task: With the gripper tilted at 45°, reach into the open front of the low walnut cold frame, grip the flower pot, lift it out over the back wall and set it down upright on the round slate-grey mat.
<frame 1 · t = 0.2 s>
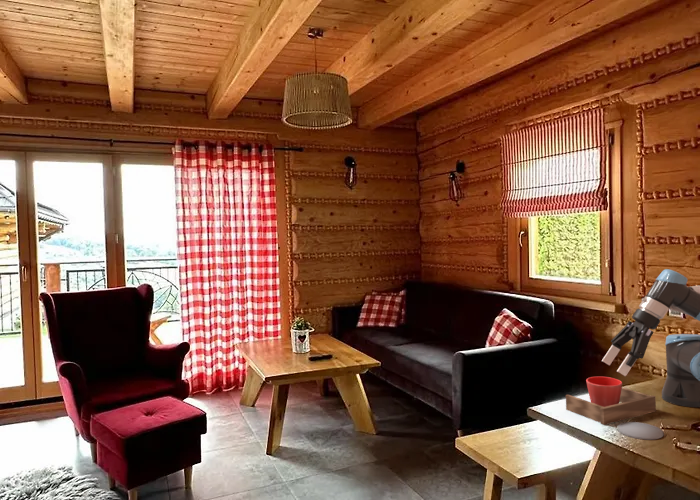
hand: (612, 368, 165), 15 cm above the table, tool tilted 35°, fingers open, 13 cm apart
flower pot: (605, 409, 170), on the table
slate mat: (639, 431, 151), on the table
cold frame: (605, 408, 170), on the table
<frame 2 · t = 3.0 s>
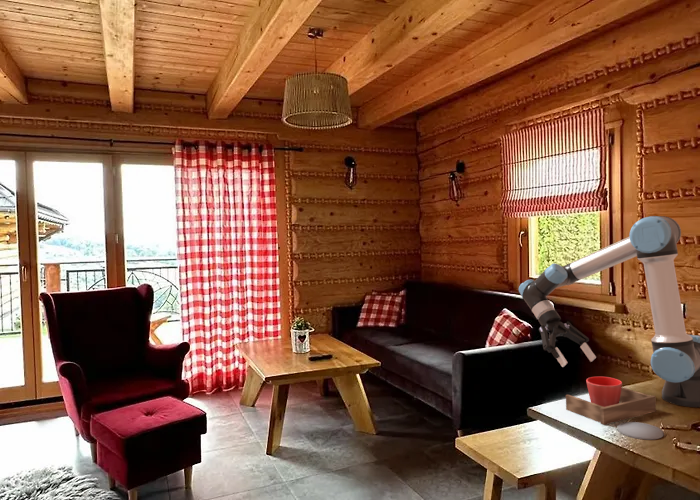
hand: (579, 362, 179), 14 cm above the table, tool tilted 45°, fingers open, 13 cm apart
nothing on the table moved.
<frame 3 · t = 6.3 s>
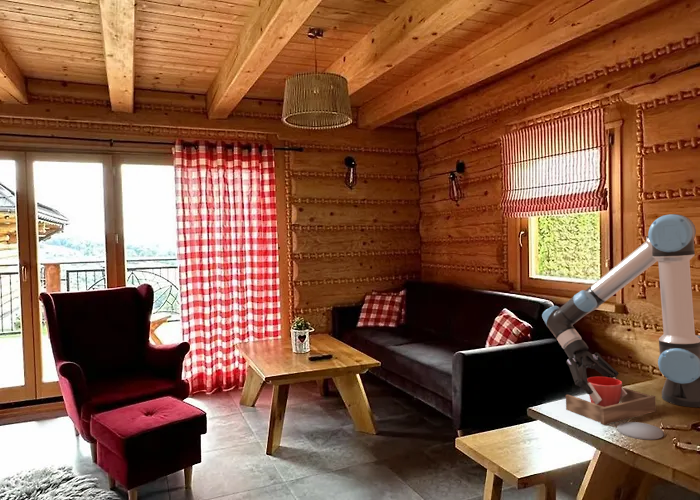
hand: (611, 399, 168), 4 cm above the table, tool tilted 45°, fingers closed on flower pot, 11 cm apart
flower pot: (605, 409, 170), on the table, touching gripper
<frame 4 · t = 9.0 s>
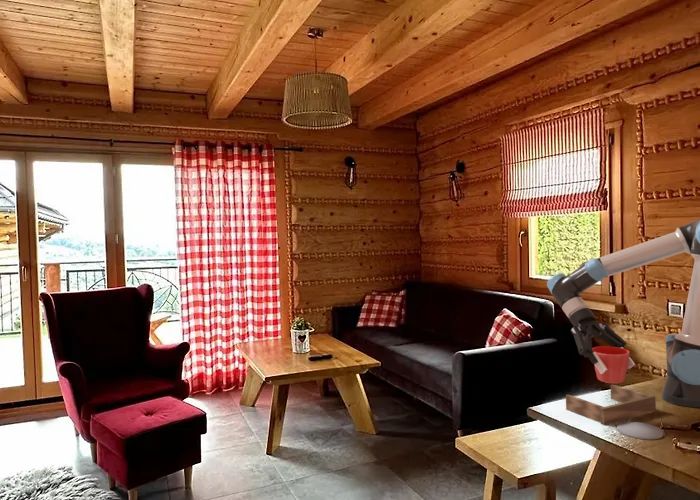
hand: (618, 369, 159), 17 cm above the table, tool tilted 45°, fingers closed on flower pot, 11 cm apart
flower pot: (610, 380, 162), point 12 cm above the table, touching gripper
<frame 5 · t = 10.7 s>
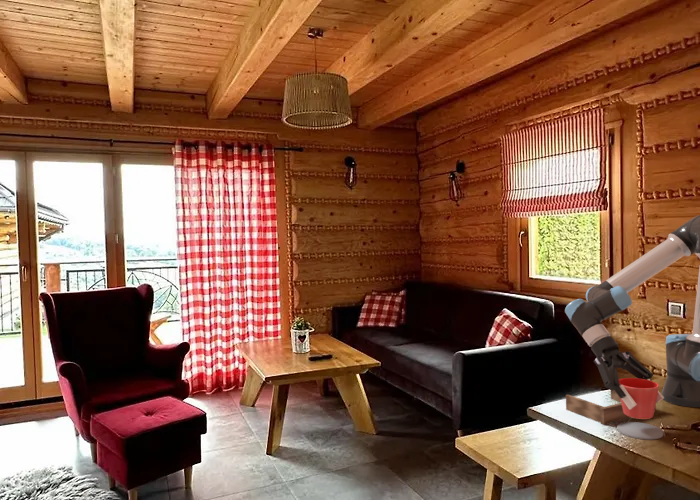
hand: (647, 403, 148), 9 cm above the table, tool tilted 45°, fingers closed on flower pot, 11 cm apart
flower pot: (638, 415, 151), point 5 cm above the table, touching gripper
when the fingers open (6 cm above the table, at t = 12.0 s): flower pot stays where it is, resting on slate mat.
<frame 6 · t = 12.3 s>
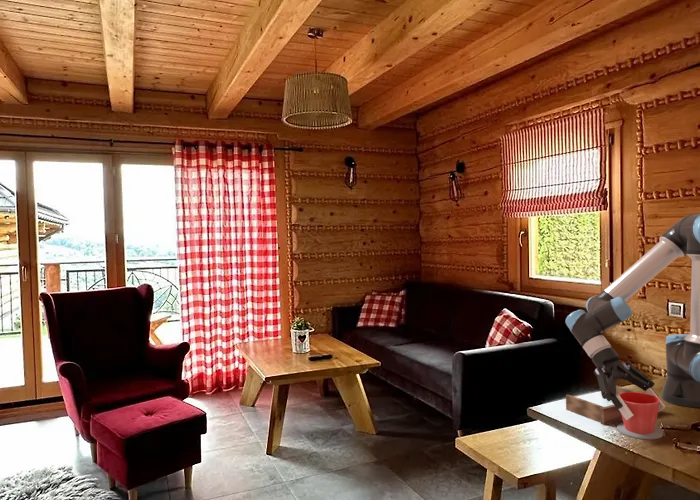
hand: (646, 413, 148), 6 cm above the table, tool tilted 45°, fingers open, 13 cm apart
flower pot: (639, 430, 151), resting on slate mat
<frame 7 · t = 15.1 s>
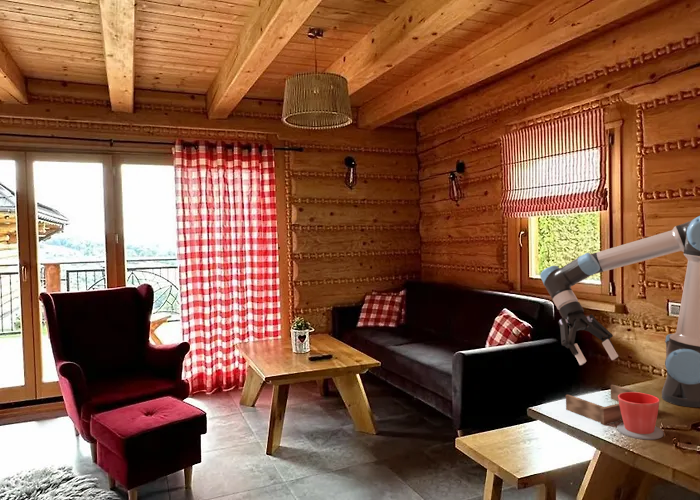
hand: (599, 361, 166), 18 cm above the table, tool tilted 40°, fingers open, 13 cm apart
nothing on the table moved.
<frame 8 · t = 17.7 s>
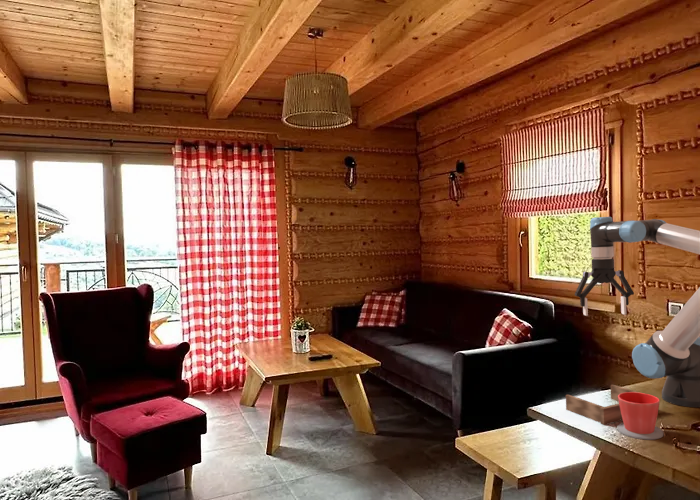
hand: (604, 314, 188), 29 cm above the table, tool pointing down, fingers open, 13 cm apart
nothing on the table moved.
at the end: flower pot inside the target area on the slate mat (0.1 cm from its centre), point 0.4 cm above the slate mat's base; flower pot tilted 0°; the gripper is holding nothing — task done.
